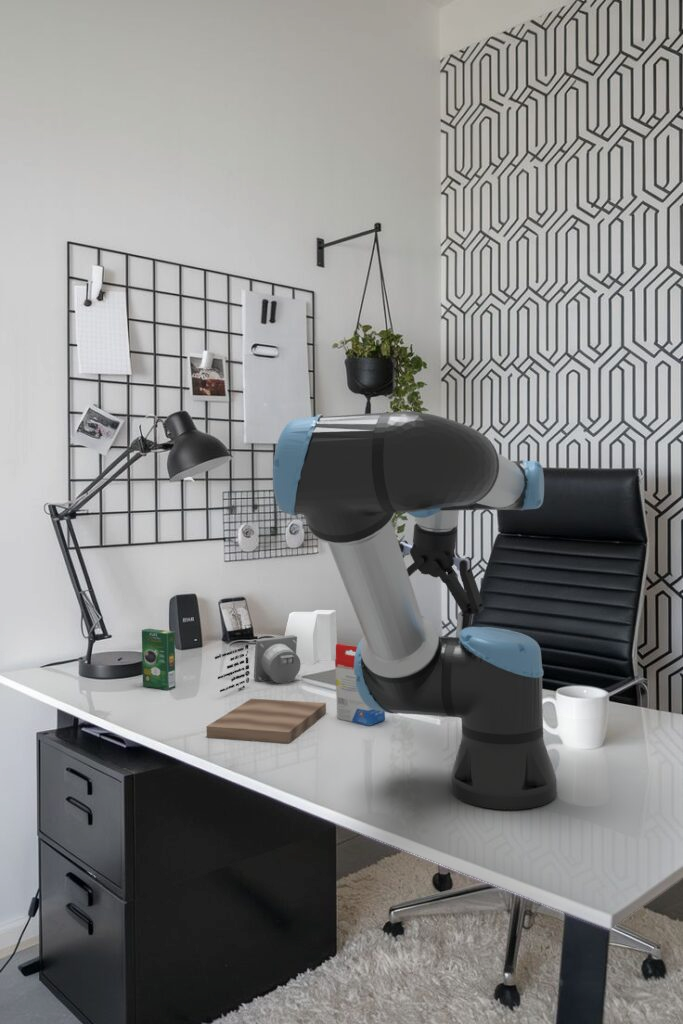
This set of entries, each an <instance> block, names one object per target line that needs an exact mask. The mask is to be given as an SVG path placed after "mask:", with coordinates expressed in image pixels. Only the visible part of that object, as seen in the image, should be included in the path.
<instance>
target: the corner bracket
mask: <svg viewBox="0 0 683 1024" xmlns="http://www.w3.org/2000/svg"><path fill="white" fill-rule="evenodd" d="M337 632H338V631H337V611H336V609H315V610H314V611H292V612H290V613H289V615H288V618H287V623H286V628H285V633H284V636H289V635H294V636H297V646H296V655H297V656H298V657H299V659H300V664H301V665H311V666H313V665H315V664H316V663H317V662H319V661H321V662H322V661H323V662H324V661H325V662H332V661H333V660H335V659H336V644H338V640H337V638H338V637H337V636H338V635H337Z"/></svg>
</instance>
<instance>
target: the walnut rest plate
mask: <svg viewBox="0 0 683 1024" xmlns="http://www.w3.org/2000/svg"><path fill="white" fill-rule="evenodd" d="M326 713H327V703H326V702H317V701H316V702H315V701H299V700H298V701H297V700H282V699H281V700H280V699H263V698H250V699H248V700H247V701H245V702H244V703H242V704H240V705H239V706H237V707H235V708H234V709H232V710H230V711H229V712H227V713H226V714H224V715H223V716H220V717H219V718H217V719H216V720H214V721H213V722H211V723H209V724H207V726H206V738H211V739H212V738H213V739H223V740H225V739H226V740H228V739H229V740H236V739H239V740H240V739H241V741H250V740H254V742H263V741H267V742H266V743H276V742H281V743H280V744H290V743H291V741H292V740H293V741H294V740H295V739H296V738H298V737H300V736H301V734H302V733H304V732H305V731H307V730H308V728H310V727H311V726H312V725H314V724H315V723H316V722H317V721H318V720H320V719H321V718H322V717H323V716H324V715H326ZM268 741H269V742H268ZM293 741H292V742H293Z"/></svg>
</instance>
